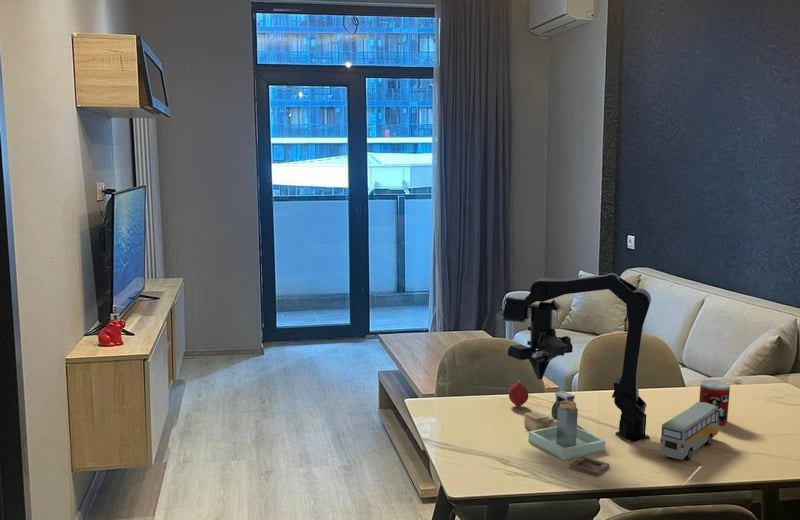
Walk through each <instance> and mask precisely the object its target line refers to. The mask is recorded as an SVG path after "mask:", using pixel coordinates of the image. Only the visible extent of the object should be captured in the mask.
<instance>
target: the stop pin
mask: <svg viewBox="0 0 800 520" xmlns="http://www.w3.org/2000/svg"><path fill="white" fill-rule="evenodd" d="M578 412H579V410H578V408H577V402H576V401H574V402H573V401H568V400H564V401H560V406H558V417H557V439H556V443H557V444H559V445H561V446H563V447H565V448H567V447H572V446H576V436H577V427H578Z"/></svg>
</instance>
